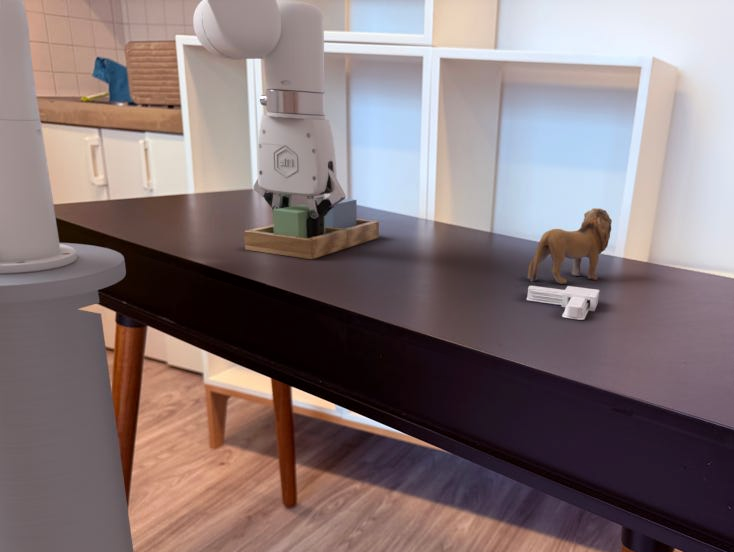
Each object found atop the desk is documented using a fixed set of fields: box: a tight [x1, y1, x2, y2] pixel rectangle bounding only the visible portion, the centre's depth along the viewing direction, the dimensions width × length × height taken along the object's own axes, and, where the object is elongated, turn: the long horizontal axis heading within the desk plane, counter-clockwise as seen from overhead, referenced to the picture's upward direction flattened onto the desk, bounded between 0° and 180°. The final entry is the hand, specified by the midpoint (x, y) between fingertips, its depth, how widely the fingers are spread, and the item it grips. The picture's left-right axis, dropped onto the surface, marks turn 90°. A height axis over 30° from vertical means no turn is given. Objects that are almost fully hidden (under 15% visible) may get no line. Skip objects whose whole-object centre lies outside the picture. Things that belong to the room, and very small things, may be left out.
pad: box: [272, 204, 325, 238], centre depth 94 cm, size 7×4×5 cm, turn 162°
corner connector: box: [526, 285, 600, 321], centre depth 74 cm, size 8×8×2 cm
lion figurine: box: [527, 207, 613, 285], centre depth 87 cm, size 15×5×9 cm, turn 136°
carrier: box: [243, 218, 380, 260], centre depth 99 cm, size 20×10×3 cm, turn 162°
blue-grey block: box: [325, 198, 357, 229], centre depth 102 cm, size 7×4×5 cm, turn 162°
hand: (300, 242), depth 95 cm, fingers closed on pad, 4 cm apart
